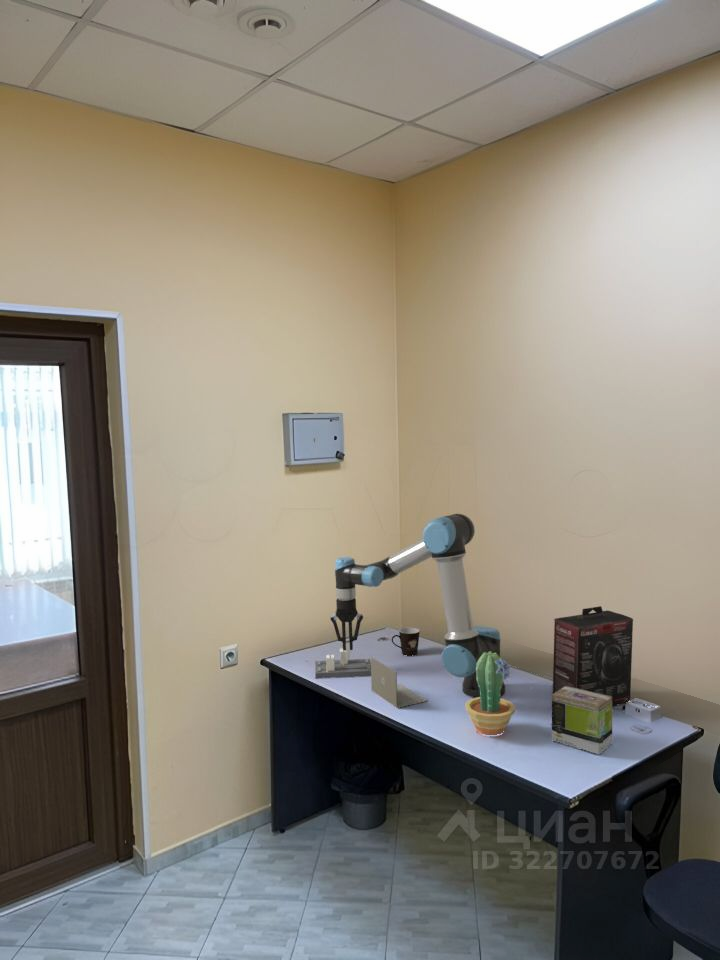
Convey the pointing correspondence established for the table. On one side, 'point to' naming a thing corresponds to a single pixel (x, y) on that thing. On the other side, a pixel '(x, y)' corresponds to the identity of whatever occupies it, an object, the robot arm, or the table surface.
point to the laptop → (391, 686)
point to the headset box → (594, 653)
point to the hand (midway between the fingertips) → (348, 658)
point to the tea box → (582, 719)
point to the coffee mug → (408, 640)
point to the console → (344, 668)
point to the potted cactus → (490, 696)
